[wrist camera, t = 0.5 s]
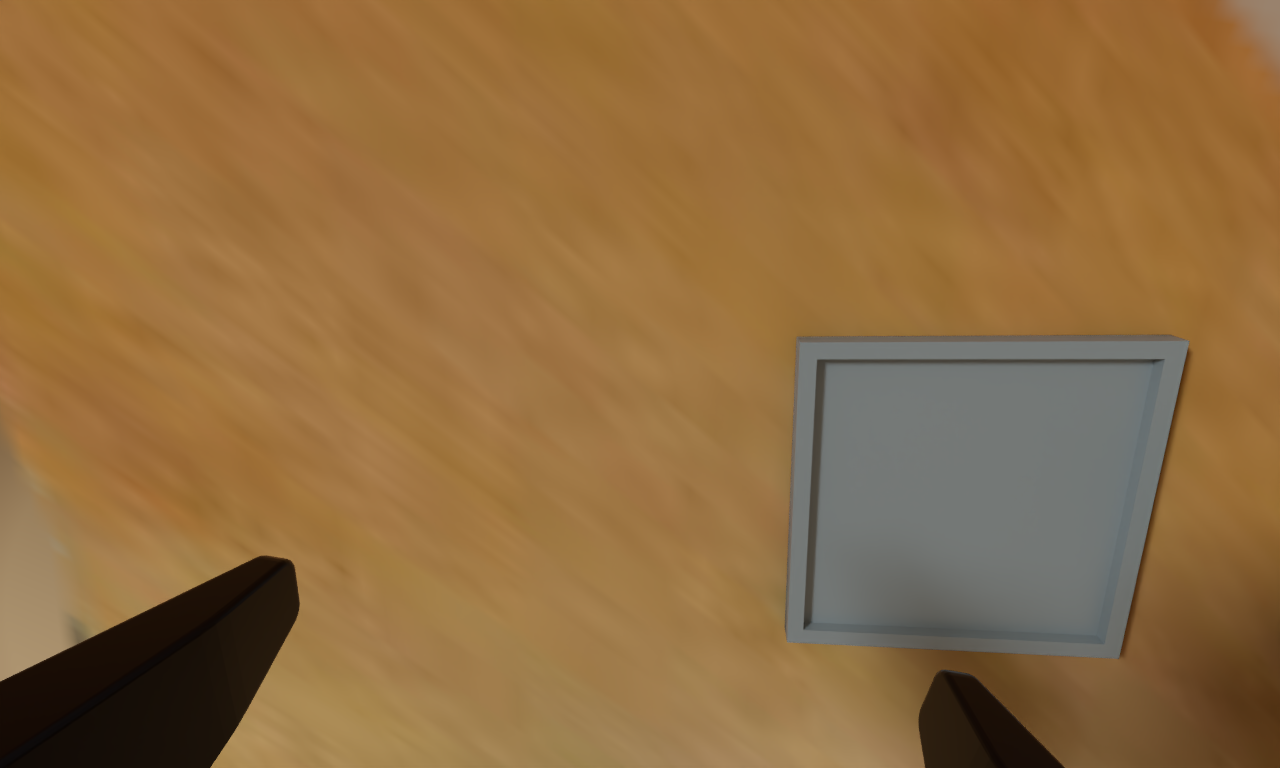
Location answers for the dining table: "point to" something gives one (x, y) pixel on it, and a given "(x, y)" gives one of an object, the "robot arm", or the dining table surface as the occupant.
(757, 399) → the dining table surface
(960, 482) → the tray
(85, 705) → the robot arm
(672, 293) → the dining table surface
